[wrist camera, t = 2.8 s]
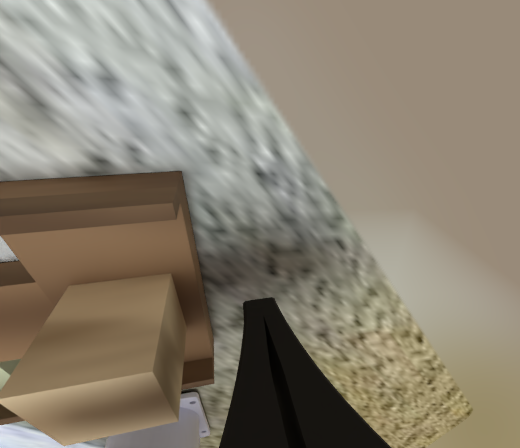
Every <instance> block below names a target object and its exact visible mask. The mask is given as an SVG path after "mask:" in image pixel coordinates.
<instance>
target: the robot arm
mask: <svg viewBox="0 0 520 448" xmlns="http://www.w3.org/2000/svg"><path fill="white" fill-rule="evenodd" d="M243 310H244V330H243V339H242V348H241V355H240V361H239V366H238V372H237V377H236V382H235V387H234V391H233V396H232V400H231V404H230V408H229V412H228V416H227V420H226V424H225V428H224V432H223V435H222V439H221V442H220V446H219V448H391V447H390V446H389V445H388V444H387V443H386V442H385V441H384V440H383V439H382V438H381V437H380V436H379V435H378V434H377V433H376V432H375V431H374V430H373V429H372V428H371V427H370V426H369V425H368V424H367V423H366V422H365V420H364V419H363V418H362V417H361V416H360V415H359V414H358V413H357V412H356V411H355V410H354V409H353V408H352V407H351V406H350V405H349V404H348V402H347V401H346V400H345V399H344V398H343V397H342V396H341V394H340V393H339V392H338V391H337V390H336V389H335V388H334V386H333V385H332V384H331V383H330V382H329V380H328V379H327V378H326V377H325V376H324V374H323V373H322V372H321V370H320V369H319V368H318V367H317V365H316V364H315V363H314V361H313V360H312V359H311V357H310V356H309V355H308V353H307V352H306V350H305V349H304V348H303V346H302V345H301V343H300V342H299V340H298V339H297V337H296V336H295V334H294V333H293V331H292V330H291V328H290V326H289V325H288V323H287V322H286V320H285V318H284V316H283V315H282V313H281V311H280V309H279V307H278V305H277V303H276V301H275V299H274V298H272V297H271V298H264V299H257V300H250V301H245V302H244V303H243ZM208 435H210V428H209V425H208V422H207V419H206V416H205V413H204V410H203V407H202V404H201V401H200V398H199V395H198V393H196V392H190V393H185V394H181V398H180V410H179V421H178V422H174V423H169V424H164V425H160V426H155V427H150V428H146V429H141V430H136V431H132V432H127V433H122V434H118V435H113V436H108V438H107V441H106V445H105V448H200V438H201V437H206V436H208Z"/></svg>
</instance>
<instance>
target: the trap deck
mask: <svg viewBox="0 0 520 448" xmlns="http://www.w3.org/2000/svg"><path fill="white" fill-rule="evenodd" d="M0 236H1V237H2V238H3V239H4V241H5V242H6V243H7V245H8V246H9V247H10V249H11V250H12V251H13V253H14V254H15V255H16V257H17V258H18V259H19V261H14V262H5V263H0V391H1V389H2V388H3V386H4V385H5V383H6V382H7V380H8V379H9V377H10V376H11V374H12V373H13V371H14V369H15V368H16V366H17V365H18V363H19V362H20V360H21V359H22V357H23V356H24V354H25V353H26V351H27V349H28V348H29V346H30V345H31V343H32V342H33V340H34V339H35V337H36V336H37V334H38V333H39V331H40V330H41V328H42V326H43V325H44V323H45V322H46V320H47V319H48V317H49V316H50V314H51V313H52V311H53V310H54V308H55V306H56V305H57V303H58V302H59V300H60V299H61V297H62V296H63V294H64V293H65V291H66V290H67V288H68V286H72V285H80V284H88V283H97V282H105V281H113V280H121V279H129V278H138V277H146V276H154V275H162V274H170V273H171V275H172V279H173V282H174V285H175V289H176V292H177V296H178V299H179V303H180V306H181V310H182V313H183V316H184V320H185V323H186V327H187V331H186V342H185V353H184V364H183V376H182V387H181V390H183V389H188V388H194V387H199V386H204V385H209V384H214V339H213V334H212V329H211V323H210V318H209V313H208V308H207V302H206V297H205V292H204V287H203V282H202V276H201V271H200V266H199V261H198V255H197V250H196V245H195V240H194V234H193V229H192V224H191V219H190V213H189V208H188V203H187V198H186V193H185V187H184V182H183V177H182V172H181V171H175V172H158V173H142V174H125V175H108V176H91V177H74V178H57V179H40V180H24V181H7V182H0ZM20 421H25V420H24V419H22V418H21V417H19V416H18V415H16V414H15V413H13V412H12V411H10V410H9V409H7V408H6V407H4V406H3V405H1V404H0V425H4V424H9V423H15V422H20Z"/></svg>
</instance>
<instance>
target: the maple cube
mask: <svg viewBox="0 0 520 448" xmlns="http://www.w3.org/2000/svg"><path fill="white" fill-rule="evenodd" d="M186 331H187V327H186V323H185V320H184V316H183V313H182V310H181V306H180V303H179V299H178V296H177V292H176V289H175V285H174V282H173V279H172V275H171V273H170V274H162V275H154V276H146V277H138V278H129V279H121V280H113V281H105V282H97V283H88V284H80V285H72V286H68V288H67V290H66V291H65V293H64V294H63V296H62V297H61V299H60V300H59V302H58V303H57V305H56V306H55V308H54V310H53V311H52V313H51V314H50V316H49V317H48V319H47V320H46V322H45V323H44V325H43V326H42V328H41V330H40V331H39V333H38V334H37V336H36V337H35V339H34V340H33V342H32V343H31V345H30V346H29V348H28V349H27V351H26V353H25V354H24V356H23V357H22V359H21V360H20V362H19V363H18V365H17V366H16V368H15V369H14V371H13V373H12V374H11V376H10V377H9V379H8V380H7V382H6V383H5V385H4V386H3V388H2V389H1V391H0V404H1V405H3V406H4V407H6V408H7V409H9V410H10V411H12V412H13V413H15V414H16V415H18V416H19V417H21V418H22V419H24V420H25V421H27V422H28V423H30V424H31V425H33V426H34V427H36V428H37V429H39V430H40V431H42V432H43V433H45V434H46V435H48V436H49V437H51V438H52V439H54V440H55V441H57V442H58V443H60V444H62V445H63V446H66V445H71V444H76V443H80V442H85V441H90V440H94V439H99V438H104V437H108V436H113V435H118V434H122V433H127V432H132V431H136V430H141V429H146V428H150V427H155V426H160V425H164V424H169V423H174V422H178V421H179V410H180V398H181V387H182V376H183V364H184V353H185V342H186Z"/></svg>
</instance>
